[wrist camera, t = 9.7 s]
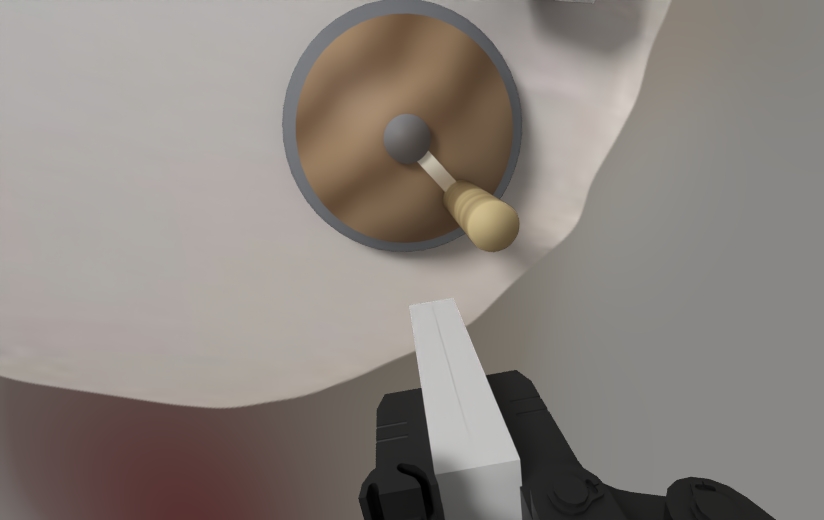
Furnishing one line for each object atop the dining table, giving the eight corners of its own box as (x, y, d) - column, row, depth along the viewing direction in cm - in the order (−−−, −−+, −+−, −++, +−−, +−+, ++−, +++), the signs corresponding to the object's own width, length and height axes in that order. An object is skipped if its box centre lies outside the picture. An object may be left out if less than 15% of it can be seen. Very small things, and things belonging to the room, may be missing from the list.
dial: (256, 135, 31) (183, 140, 19) (407, -35, 28) (424, -147, 16) (403, 273, 36) (413, 340, 24) (544, 140, 33) (631, 147, 21)
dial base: (328, -40, 29) (317, -73, 24) (553, 68, 33) (581, 58, 28) (262, 203, 35) (243, 215, 30) (460, 272, 38) (471, 292, 34)
